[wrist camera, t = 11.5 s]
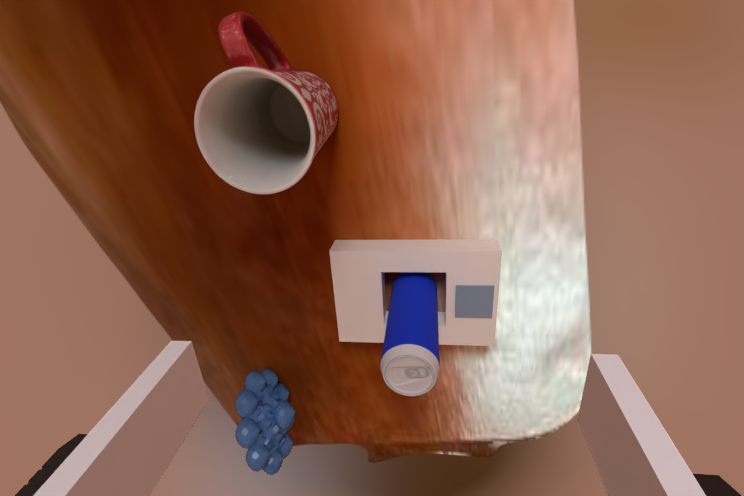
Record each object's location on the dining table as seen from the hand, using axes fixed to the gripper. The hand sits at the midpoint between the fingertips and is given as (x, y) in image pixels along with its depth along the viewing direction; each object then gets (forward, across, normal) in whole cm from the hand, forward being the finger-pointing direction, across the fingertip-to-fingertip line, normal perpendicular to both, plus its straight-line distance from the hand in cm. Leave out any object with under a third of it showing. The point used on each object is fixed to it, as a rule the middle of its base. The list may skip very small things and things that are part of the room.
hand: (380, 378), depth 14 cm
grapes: (+32, -18, -31) cm, 48 cm away
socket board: (+32, 0, -15) cm, 35 cm away
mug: (+32, -11, +7) cm, 34 cm away
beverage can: (+32, 0, -15) cm, 35 cm away
